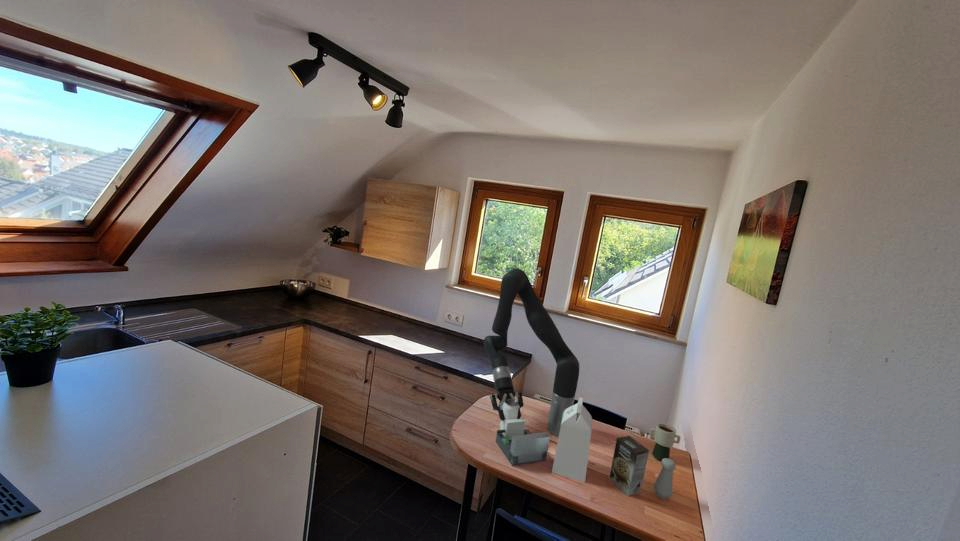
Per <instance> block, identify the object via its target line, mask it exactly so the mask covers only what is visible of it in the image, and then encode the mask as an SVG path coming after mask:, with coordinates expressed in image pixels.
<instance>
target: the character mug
mask: <svg viewBox="0 0 960 541" xmlns="http://www.w3.org/2000/svg"><path fill="white" fill-rule="evenodd" d="M653 432H654V433H653ZM676 433H677V429H676V428H675V427H673V425H672V426H671V425H670V424H668V423H664V422H659V423H657V424H656V426H655V428H654V427H653V428H652V427H651V428H650V429H649V433H648V434H649V436H651V437H653V438H654V441H655V444H654V447H653V449H652V455H653V457H654V458H655V459H657V460H659V461H662V459H664V458H668V459H670V455H671V448H672V447H673V446H674V444H680V441H681V436H680V435H678V434H676ZM675 438H677V439H675Z"/></svg>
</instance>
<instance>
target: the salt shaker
mask: <svg viewBox="0 0 960 541" xmlns="http://www.w3.org/2000/svg"><path fill="white" fill-rule="evenodd" d="M660 464H661V466H662V467H661V469H660V472H659V473H658V476H657V478H656V479H655V482H654V483H653V489H654V493H655V495H656V496H657V497H658V498H659V499H662V500H668V499H670V497H671V496H672V495H673V493H674V492H673V489H674V488H673V485H674V484H673V479H674V471H675V470H676V467H677V466H676V462H675V461H674V460H673V459H670V458H669V459H668V458H664V459H662V461H661V463H660Z"/></svg>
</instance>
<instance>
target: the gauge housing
mask: <svg viewBox="0 0 960 541" xmlns="http://www.w3.org/2000/svg"><path fill="white" fill-rule="evenodd" d="M503 434H504V433H498V434H497V433H496V436H495V443H496V444H497V446H498V447H499V449H500V450H501V451H502V454H504V456H505V458H506V459H507V460H508V462H509V463H510V465H511V466H512V467H514V466H515V467H516V465H517V466H522V465H528V464H534V463H536V464H537V463H541V462H546V461H547V457H548V451H549V445H550V439H551V438H550V437H551V436H550V435H549V433H547V432H546V431H545V432H538V433H537V432H535V433H532V431H531V430H529V428H525V430H524V435H518V436H512V440H509V441H508V440H507V439H506V438H505V436H504V435H503Z"/></svg>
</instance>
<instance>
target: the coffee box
mask: <svg viewBox="0 0 960 541" xmlns="http://www.w3.org/2000/svg"><path fill="white" fill-rule="evenodd" d="M615 441H616V442H615V446H614V452H613V457H612V463H611V467H610V472H609V478H608V480H610V482H612V483H613V484H614V485H615V486H616V487H618V488H619V489H620V490H621V491H622V492H623V493H624V494H625V495H626V496H627V497H629V496H633V495H637V494H640V493H641V492H642V487H643V481H644V477H645V473H646V466H647V463H648V458H649V454H650V450H649V449H648V448H647V447H645V446H644V445H643V444H642V443H640V442H639V441H637V440H636V439H635V438H633V437H632V436H630V435H626V436H625V435H624V436H620V437H617V438H616V440H615Z"/></svg>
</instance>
